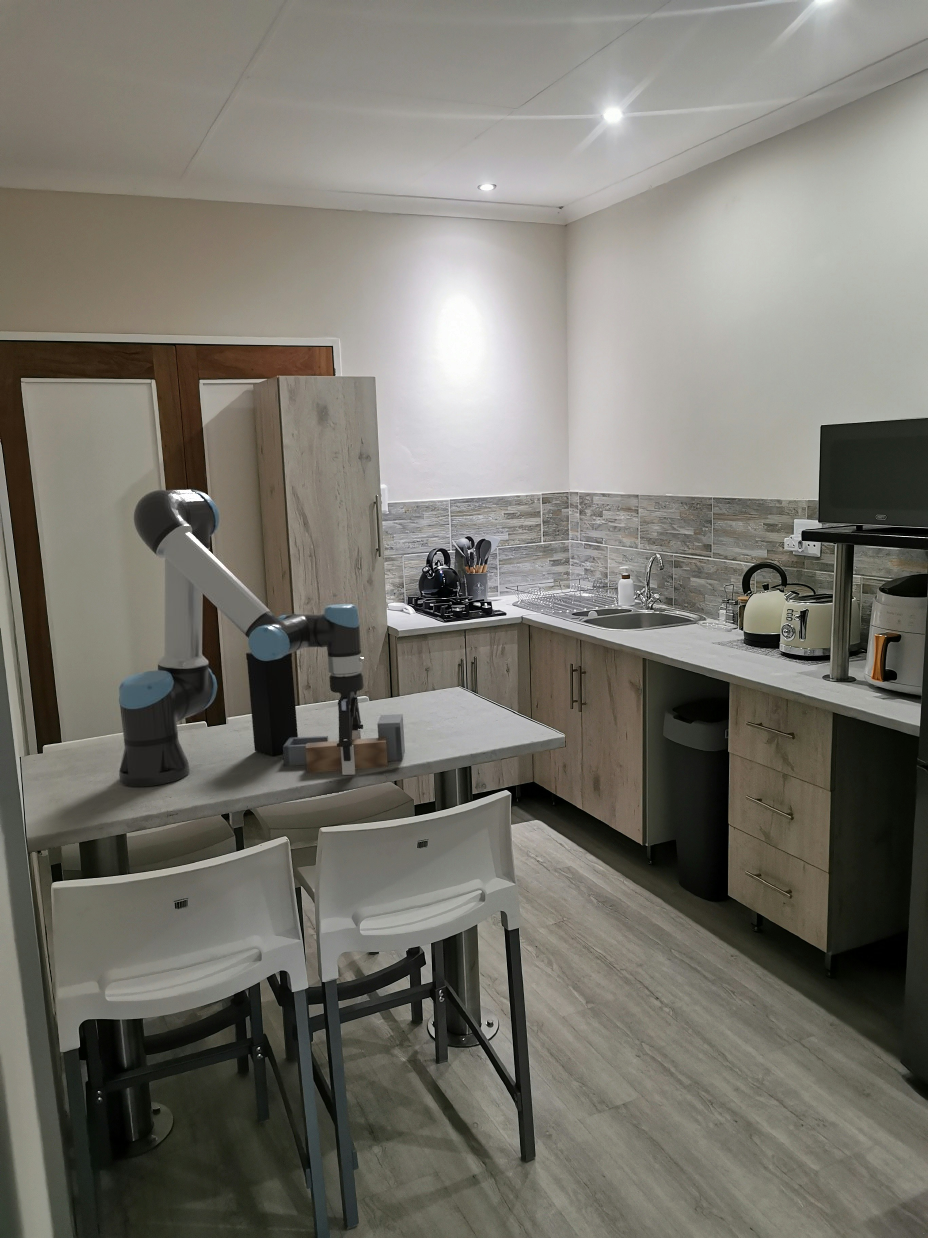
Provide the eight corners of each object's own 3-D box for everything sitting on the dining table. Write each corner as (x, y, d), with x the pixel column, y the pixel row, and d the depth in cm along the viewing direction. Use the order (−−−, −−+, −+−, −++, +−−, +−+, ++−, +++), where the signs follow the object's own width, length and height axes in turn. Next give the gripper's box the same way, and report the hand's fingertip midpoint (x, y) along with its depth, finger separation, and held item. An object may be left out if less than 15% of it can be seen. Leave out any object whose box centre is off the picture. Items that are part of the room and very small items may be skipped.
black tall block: (299, 749, 227) (290, 637, 223) (272, 757, 221) (263, 642, 217) (280, 744, 232) (271, 634, 228) (254, 752, 226) (244, 639, 222)
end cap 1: (284, 765, 213) (282, 747, 213) (291, 755, 221) (289, 737, 221) (323, 764, 213) (322, 745, 213) (329, 754, 221) (327, 735, 220)
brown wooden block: (307, 773, 207) (305, 748, 206) (308, 768, 211) (306, 743, 210) (387, 767, 209) (386, 741, 208) (387, 762, 213) (385, 737, 212)
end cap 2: (379, 761, 213) (377, 723, 212) (383, 751, 221) (380, 715, 220) (402, 760, 213) (399, 722, 212) (404, 750, 221) (402, 714, 219)
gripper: (355, 683, 195) (362, 781, 198) (368, 662, 219) (374, 749, 222) (320, 685, 195) (328, 783, 198) (337, 663, 219) (343, 751, 222)
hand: (352, 765), depth 210 cm, fingers open, 12 cm apart
